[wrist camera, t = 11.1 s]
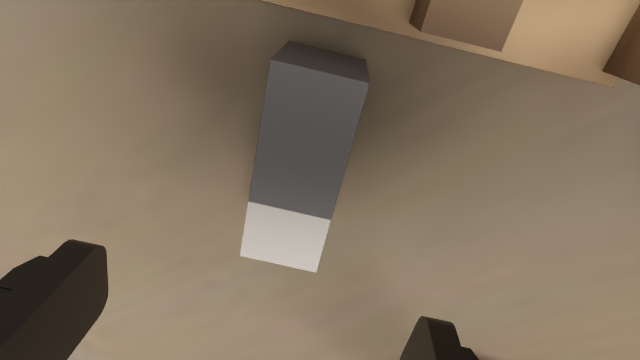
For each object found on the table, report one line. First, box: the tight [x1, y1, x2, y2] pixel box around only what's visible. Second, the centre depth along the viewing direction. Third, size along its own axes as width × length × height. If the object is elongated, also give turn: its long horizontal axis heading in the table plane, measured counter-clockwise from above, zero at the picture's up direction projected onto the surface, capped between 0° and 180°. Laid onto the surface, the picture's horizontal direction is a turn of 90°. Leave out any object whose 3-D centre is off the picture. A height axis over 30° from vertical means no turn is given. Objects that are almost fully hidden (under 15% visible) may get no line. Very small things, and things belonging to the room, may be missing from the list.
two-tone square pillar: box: [240, 42, 370, 272], centre depth 18 cm, size 9×4×4 cm, turn 168°
